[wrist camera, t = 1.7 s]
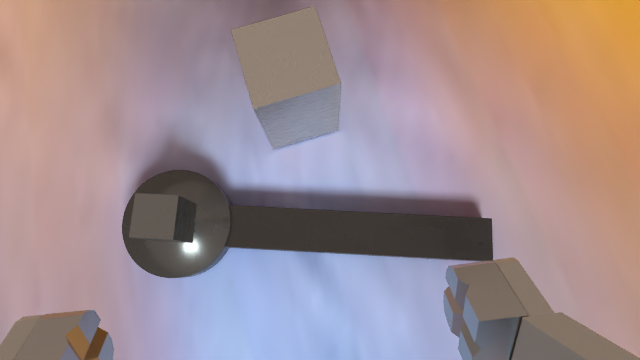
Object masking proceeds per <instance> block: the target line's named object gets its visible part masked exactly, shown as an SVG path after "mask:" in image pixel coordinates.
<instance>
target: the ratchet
mask: <svg viewBox="0 0 640 360" xmlns="http://www.w3.org/2000/svg"><path fill="white" fill-rule="evenodd" d="M122 234H123V240H124V243H125V246H126V249H127V251H128V253H129V254H130V256H131V257H132V259H133V260H134V261H135V262H136V263H137V264H138V265H139V266H140V267H141V268H142V269H144V270H146V271H147V272H149V273H151V274H154V275H156V276H160V277H166V278H180V277H190V276H195V275H198V274H201V273H203V272H205V271H207V270H209V269H210V268H212V267H213V266H214V265H216V264H217V263H218V262H219V261H220V260H221V259H222V258H223V256H224V255H225V254H226V252H227V251H228V249H229V248H244V249H262V250H281V251H299V252H317V253H335V254H353V255H372V256H390V257H408V258H426V259H445V260H463V261H481V262H482V261H492V260H493V245H492V219H490V218H470V217H451V216H431V215H412V214H392V213H373V212H353V211H333V210H314V209H294V208H275V207H255V206H236V205H232V204H231V201H230V200H229V198H228V196H227V195H226V194H225V192H224V191H223V190H222V189H221V188H220V187H219V186H217V185H216V184H215V183H213V182H212V181H211V180H209V179H208V178H206V177H205V176H203V175H201V174H198V173H196V172H192V171H186V170H173V171H167V172H164V173H161V174H158V175H156V176H154V177H152V178H150V179H149V180H147V181H146V182H145V183H143V184H142V185H141V186H140V187H139V188H138V189H137V190H136V192H135V193H134V194H133V196H132V197H131V199H130V200H129V202H128V204H127V206H126V209H125V212H124V216H123V223H122Z"/></svg>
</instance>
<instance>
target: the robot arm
mask: <svg viewBox="0 0 640 360" xmlns="http://www.w3.org/2000/svg"><path fill="white" fill-rule="evenodd" d="M446 280H447V282H448V285H449V287H448V288H447V289H446V290H445V291H444V301H443V302H444V310H445V315H446V319H447V322H448V325H449V327H450V330H451V332H452V333H454V334H455V335H456V336H458V337H459V346H458V350H459V352H460V354H461V357H462V359H463V360H640V358H638V357H637V356H635V355H633V354H631V353H630V352H628V351H626V350H625V349H623V348H621V347H620V346H618V345H616V344H614V343H613V342H611V341H609V340H608V339H606V338H604V337H602V336H601V335H599V334H597V333H596V332H594V331H592V330H591V329H589V328H587V327H585V326H584V325H582V324H580V323H579V322H577V321H575V320H573V319H572V318H570V317H568V316H567V315H565V314H563V313H554V311H553V310H552V309H551V307H550V306H549V304H548V303H547V301H546V300H545V299H544V297H543V296H542V294H541V293H540V291H539V290H538V288H537V287H536V286H535V284H534V283H533V281H532V280H531V278H530V277H529V276H528V274H527V273H526V271H525V270H524V268H523V267H522V266H521V264H520V263H519V261H518V260H517V259H515V258H506V259H498V260H492V261H482V262H474V263H467V264H459V265H451V266H448V268H447V270H446ZM100 321H101V319H100V318H99V316H98V315H97V313H96V312H95V310H84V311H74V312H63V313H53V314H45V315H36V316H26V317H22V318H21V319H20V320H18V321H17V322H16V323H15V324H14V325H13V327H12V328H11V330H10V331H9V333H8V335H7V336H6V338H5V339H4V341H3V342H2V344H1V345H0V360H113V353H114V347H113V342H112V339H111V337H110V335H109V333H108V332H106V331H104V330H102V329H101V328H99V327H98V325H99V323H100Z"/></svg>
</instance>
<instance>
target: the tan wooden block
mask: <svg viewBox="0 0 640 360" xmlns="http://www.w3.org/2000/svg"><path fill="white" fill-rule="evenodd" d="M231 32H232V35H233V39H234V42H235V46H236V49H237V53H238V56H239V60H240V63H241V67H242V70H243V74H244V77H245V81H246V84H247V88H248V91H249V95H250V98H251V102H252V105H253V109H254V111H255V113H256V115H257V117H258V119H259V121H260V123H261V125H262V127H263V129H264V131H265V133H266V136H267V138H268V140H269V142H270V144H271V146H272V148H273V150H274V149H277V148H280V147H284V146H287V145H290V144H294V143H297V142H301V141H304V140H307V139H311V138H314V137H317V136H321V135H324V134H327V133H331V132H334V131H337V130H339V112H340V93H341V81H340V79H339V76H338V73H337V70H336V67H335V64H334V61H333V58H332V55H331V52H330V49H329V46H328V43H327V40H326V37H325V34H324V31H323V28H322V25H321V22H320V19H319V16H318V14H317V11H316V8H315V6H313V7H309V8H306V9H302V10H299V11H295V12H292V13H288V14H285V15H281V16H278V17H274V18H271V19H267V20H264V21H260V22H257V23H253V24H250V25H246V26H243V27H239V28H236V29H232V30H231Z"/></svg>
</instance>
